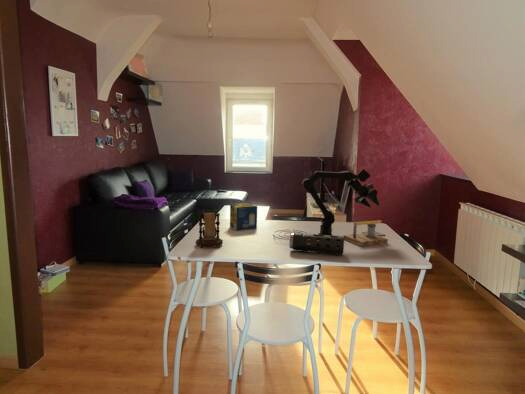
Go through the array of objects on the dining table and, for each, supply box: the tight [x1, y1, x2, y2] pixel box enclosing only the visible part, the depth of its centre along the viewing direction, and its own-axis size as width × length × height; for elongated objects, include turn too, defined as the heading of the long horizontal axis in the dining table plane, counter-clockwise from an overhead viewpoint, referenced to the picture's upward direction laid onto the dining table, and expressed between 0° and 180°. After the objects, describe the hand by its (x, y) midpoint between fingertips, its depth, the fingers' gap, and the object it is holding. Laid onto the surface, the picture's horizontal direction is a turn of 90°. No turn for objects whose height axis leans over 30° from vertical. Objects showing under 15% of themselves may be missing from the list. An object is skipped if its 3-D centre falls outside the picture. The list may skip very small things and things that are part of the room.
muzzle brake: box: [289, 231, 345, 256], centre depth 199 cm, size 10×28×10 cm, turn 78°
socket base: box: [343, 232, 389, 247], centre depth 225 cm, size 20×16×2 cm
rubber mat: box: [361, 230, 386, 237], centre depth 242 cm, size 10×10×1 cm
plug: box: [366, 224, 377, 238], centre depth 226 cm, size 5×5×10 cm
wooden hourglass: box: [195, 209, 224, 249], centre depth 207 cm, size 15×15×20 cm
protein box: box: [229, 202, 258, 231], centre depth 249 cm, size 10×15×16 cm
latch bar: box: [352, 219, 382, 238], centre depth 224 cm, size 19×2×9 cm, turn 113°
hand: (374, 206), depth 233 cm, fingers open, 9 cm apart
